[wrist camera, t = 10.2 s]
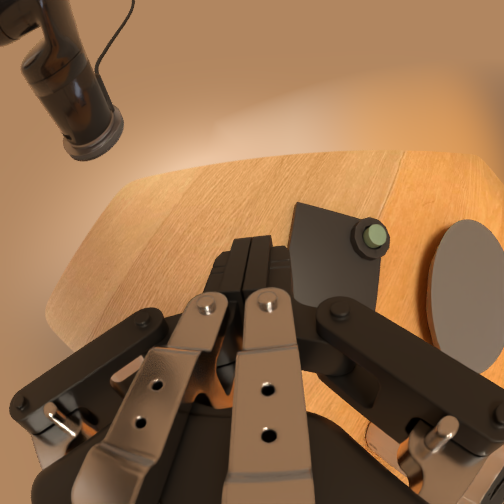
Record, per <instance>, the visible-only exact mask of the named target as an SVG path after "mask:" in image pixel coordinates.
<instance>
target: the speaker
mask: <svg viewBox="0 0 504 504" xmlns="http://www.w3.org/2000/svg"><path fill="white" fill-rule="evenodd" d="M366 441H367V444H368V446H369V448H370V449H371V450H372V451H374V452H375V453H376V454H377V455H379V456H380V457H381V458H382V459H384V460H385V461H386V462H387V463H389V464H390V465H391V466H392V467H394V468H395V469H396V470H398V471H399V472H400V473H402V474H403V475H404V476H406V474H405V473H404V472H403V471H402V470H401V469H400V467H399V465H398V463H397V451H398V448H399V446H400V444H399V443H397V442H396V441H395V440H394V439H392V438H391V437H390V436H388V435H387V434H386V433H384V432H383V431H382V430H381V429H379V428H378V427H377V426H376V425H374V424H373V423H372V422H371V423H370V425H369V427H368V430H367V434H366ZM406 477H407V476H406ZM503 502H504V445H502V446H501V447H500V448H499V449H497V450H496V451H494V452H493V453H492V454H490V455H489V457H488V458H487V460H486V461H485V463H484V465H483V466H482V468H481V469H480V471H479V473H478V474H477V476H476V477H475V479H474V480H473V482H472V483H471V485H470V486H469V488H468V489H467V490H466V492H465V493H464V495H463V496H462V497H461V499H460V500H459V501H458V502H457V504H502V503H503Z"/></svg>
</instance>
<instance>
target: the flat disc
mask: <svg viewBox="0 0 504 504" xmlns="http://www.w3.org/2000/svg"><path fill="white" fill-rule="evenodd" d="M426 312H427V320H428V325H429V330H430V332H431V338H432V341H433V345H434V346H435V347H436V348H437V349H439V350H441V351H442V352H444V353H446V354H447V355H449V356H451V357H452V358H454V359H455V360H457V361H459V362H460V363H462V364H464V365H465V366H467V367H469V368H470V369H472V370H473V371H475V372H477V373H478V374H480V373H482V372H484V371H485V370H487V369H488V368H489V367H490V366H491V365H492V364H493V363H494V362H495V361H496V359H497V358H498V356H499V355H500V353H501V351H502V349H503V347H504V251H503V249H502V247H501V245H500V244H499V242H498V240H497V239H496V238H495V236H494V235H493V234H492V233H491V231H490V230H489V229H487V228H486V227H485V226H484V225H482V224H481V223H479V222H477V221H474V220H461V221H458V222H456V223H454V224H453V225H452V226H451V227H450V228H449V229H448V230H447V232H446V233H445V234H444V236H443V238H442V240H441V242H440V244H439V246H438V247H437V249H436V252H435V255H434V257H433V259H432V261H431V264H430V268H429V273H428V291H427V299H426Z"/></svg>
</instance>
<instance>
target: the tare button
mask: <svg viewBox="0 0 504 504" xmlns="http://www.w3.org/2000/svg"><path fill="white" fill-rule="evenodd" d="M363 239H364V242H365V244H366V245H367V246H368V247H370V248H376V247H378V246H380V245H382V244H384V243H385V241H386V232H385V230H384V228H383V227H382V226H380V225H378V224H374V225H372V226H370V227H369V228H367V229H366V230H365V231H364V234H363Z"/></svg>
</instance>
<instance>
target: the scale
mask: <svg viewBox="0 0 504 504" xmlns="http://www.w3.org/2000/svg"><path fill="white" fill-rule="evenodd" d="M374 224H378V225H380V226H382V227H383V228H384V230H385V232H386V241H385V243H384V244H382V245H380V246H378V247H376V248H370V247H368V246H367V245H366V244H365V242H364V239H363V234H364V231H365V230H366V229H367V228H369V227H370V226H372V225H374ZM389 244H390V236H389V234H388V231H387V229H386V227H385V226H384V225H383V224H382V223H381V222H380V221H379V220H377V219H374V218H371V217H368V218H365V219H358V218H355V217H351V216H348V215H344V214H341V213H337V212H333V211H330V210H326V209H323V208H319V207H315V206H311V205H307V204H304V203H300V202H297V203H296V204H295V207H294V213H293V219H292V225H291V231H290V236H289V242H288V248H287V249H288V250H289V251H290V258H291V268H292V277H293V292H294V298H295V299H296V300H297V301H298V302H300V303H302V304H304V305H307V306H312V307H318V305H319V304H320V303H321V302H323V301H324V300H326V299H328V298H331V297H336V296H344V297H350V298H353V299H355V300H357V301H358V302H360V303H362V304H363V305H365V306H367V307H368V308H370V309H372V310H374V311H375V307H376V300H377V292H378V283H379V273H380V262H381V257H382V256H384V255H385V254H386V252H387V250H388V249H389Z"/></svg>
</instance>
